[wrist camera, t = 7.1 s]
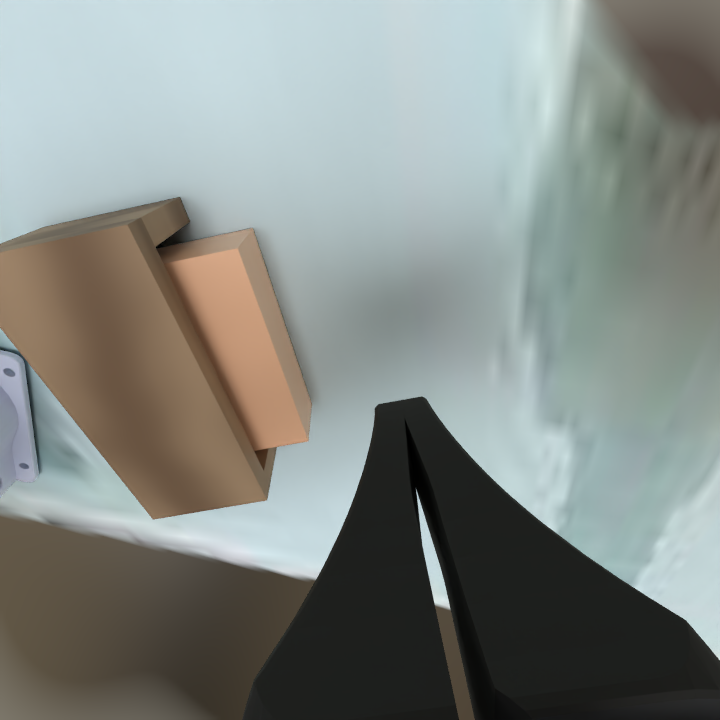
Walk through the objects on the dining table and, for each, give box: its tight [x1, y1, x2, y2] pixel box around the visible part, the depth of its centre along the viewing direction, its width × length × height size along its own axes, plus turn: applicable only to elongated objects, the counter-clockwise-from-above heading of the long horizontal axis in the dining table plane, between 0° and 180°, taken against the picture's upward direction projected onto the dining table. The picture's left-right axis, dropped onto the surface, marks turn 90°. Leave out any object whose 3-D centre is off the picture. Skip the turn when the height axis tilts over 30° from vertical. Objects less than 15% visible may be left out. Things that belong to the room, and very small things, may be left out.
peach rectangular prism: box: [156, 228, 312, 451], centre depth 18 cm, size 7×10×3 cm
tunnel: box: [0, 197, 277, 519], centre depth 18 cm, size 6×14×5 cm, turn 11°
